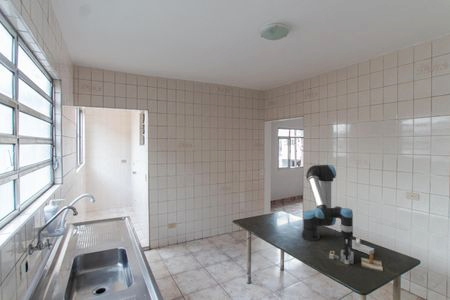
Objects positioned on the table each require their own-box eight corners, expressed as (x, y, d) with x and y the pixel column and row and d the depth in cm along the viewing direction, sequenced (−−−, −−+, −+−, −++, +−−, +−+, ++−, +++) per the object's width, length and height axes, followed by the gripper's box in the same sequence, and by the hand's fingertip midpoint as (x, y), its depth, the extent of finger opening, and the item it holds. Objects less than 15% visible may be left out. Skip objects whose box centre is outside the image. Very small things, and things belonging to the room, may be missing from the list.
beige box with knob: (330, 254, 179) (330, 249, 179) (334, 255, 178) (334, 250, 177) (329, 258, 174) (329, 253, 174) (333, 259, 172) (333, 254, 172)
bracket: (352, 249, 187) (352, 239, 187) (357, 246, 191) (357, 237, 191) (369, 255, 176) (369, 245, 176) (374, 253, 180) (374, 243, 180)
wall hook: (333, 256, 176) (333, 254, 176) (338, 257, 175) (338, 255, 174) (332, 257, 174) (332, 255, 174) (338, 258, 172) (338, 256, 172)
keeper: (361, 258, 172) (361, 249, 171) (381, 262, 166) (381, 252, 166) (361, 266, 161) (361, 256, 161) (382, 271, 155) (382, 260, 155)
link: (341, 256, 176) (341, 249, 176) (353, 258, 172) (353, 251, 172) (340, 261, 169) (340, 254, 169) (353, 263, 165) (353, 256, 165)
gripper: (342, 224, 182) (342, 251, 183) (339, 235, 161) (340, 266, 162) (353, 225, 179) (353, 253, 180) (352, 237, 157) (352, 269, 158)
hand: (347, 259), depth 171 cm, fingers open, 12 cm apart
